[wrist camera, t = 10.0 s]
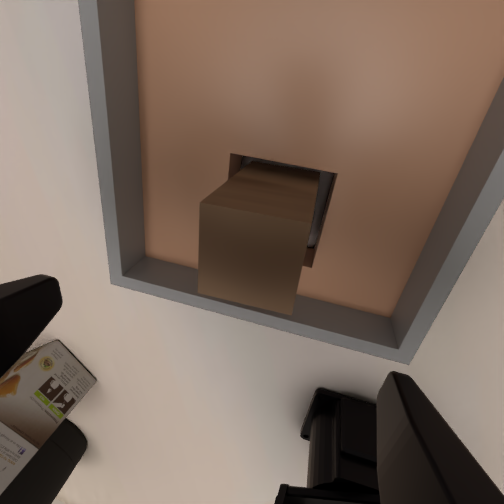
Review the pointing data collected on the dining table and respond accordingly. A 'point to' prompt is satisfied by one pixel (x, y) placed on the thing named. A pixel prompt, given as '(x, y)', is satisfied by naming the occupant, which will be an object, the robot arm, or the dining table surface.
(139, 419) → the dining table surface
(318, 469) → the robot arm
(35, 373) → the coffee box
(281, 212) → the walnut peg
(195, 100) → the box
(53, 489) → the pen holder
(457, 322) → the dining table surface
